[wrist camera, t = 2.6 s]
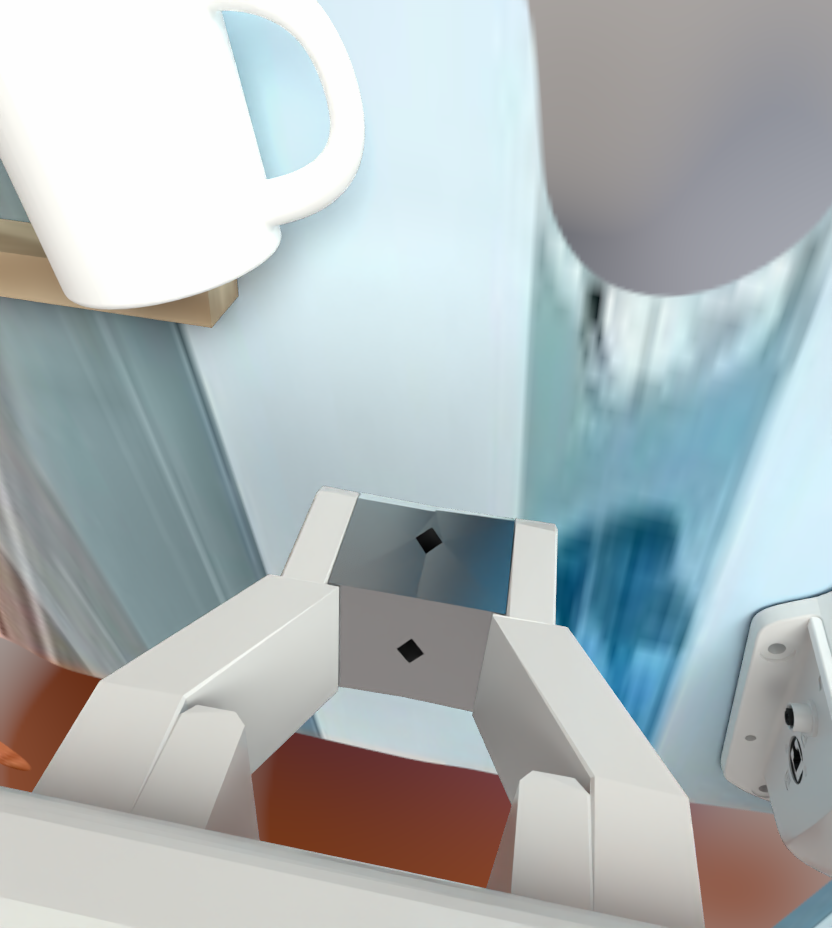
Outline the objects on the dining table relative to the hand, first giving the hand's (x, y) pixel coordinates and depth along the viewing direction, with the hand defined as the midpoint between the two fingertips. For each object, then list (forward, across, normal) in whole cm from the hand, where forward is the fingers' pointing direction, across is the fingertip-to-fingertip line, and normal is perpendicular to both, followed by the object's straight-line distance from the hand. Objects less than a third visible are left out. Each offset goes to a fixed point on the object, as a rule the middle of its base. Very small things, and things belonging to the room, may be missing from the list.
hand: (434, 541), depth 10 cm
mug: (+21, +11, 0) cm, 24 cm away
